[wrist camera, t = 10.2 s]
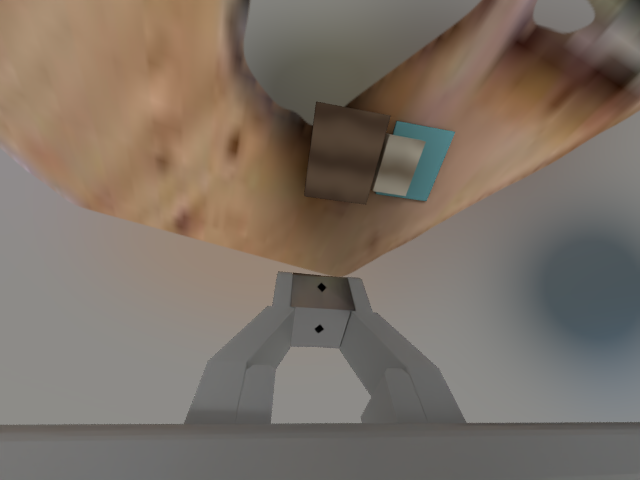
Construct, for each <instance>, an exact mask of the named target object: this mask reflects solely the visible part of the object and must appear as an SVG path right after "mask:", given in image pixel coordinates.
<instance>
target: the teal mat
mask: <svg viewBox="0 0 640 480" xmlns="http://www.w3.org/2000/svg"><path fill="white" fill-rule="evenodd" d="M454 134H455V132H453V131H447V130H442V129H437V128H431V127H426V126H421V125H415V124H410V123H405V122H399V121H396V124H395V128H394V131H393V135H397V136H402V137H407V138H412V139H418V140H422V141H425V142H426V143H425V146H424V148H423V151H422V154H421V156H420V159H419V162H418V164H417V167H416V170H415V172H414V175H413V178H412V180H411V183H410V186H409V188H408V191H407V194H406V196H401V195H395V194H388V193H382V192H376V194H379V195H387V196H394V197H401V198H408V199H415V200H422V201H427V198H428V196H429V194H430V191H431V189H432V186H433V184H434V182H435V179H436V177H437V174H438V172H439V170H440V167H441V165H442V162H443V160H444V158H445V155H446V153H447V150H448V148H449V146H450V143H451V141H452V138H453V136H454Z"/></svg>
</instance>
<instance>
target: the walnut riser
mask: <svg viewBox="0 0 640 480" xmlns="http://www.w3.org/2000/svg"><path fill="white" fill-rule="evenodd" d="M389 120H390V116H389V115H384V114H379V113H374V112H368V111H363V110H358V109H352V108H347V107H342V106H337V105H331V104H326V103H321V102H316V107H315V115H314V122H313V130H312V137H311V145H310V153H309V161H308V168H307V176H306V184H305V191H304V196H306V197H314V198H321V199H329V200H336V201H344V202H351V203H359V204H366V203H367V199H368V196H369V192H370V188H371V185H372V181H373V178H374V174H375V170H376V167H377V163H378V160H379V156H380V152H381V149H382V145H383V142H384V138H385V134H386V131H387V127H388V124H389Z"/></svg>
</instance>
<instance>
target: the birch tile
mask: <svg viewBox="0 0 640 480" xmlns="http://www.w3.org/2000/svg"><path fill="white" fill-rule="evenodd" d="M425 143H426V142H425V141H422V140H418V139H412V138H407V137H402V136H397V135H391V134H386V135H385V138H384V142H383V145H382V149H381V152H380V156H379V160H378V163H377V167H376V170H375V174H374V178H373V181H372V185H371V189H372V190H373V191H375V192H382V193H388V194H395V195H401V196H406V194H407V191H408V188H409V186H410V183H411V180H412V178H413V175H414V172H415V170H416V167H417V164H418V162H419V159H420V156H421V154H422V151H423V148H424V146H425Z"/></svg>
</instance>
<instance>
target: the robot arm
mask: <svg viewBox="0 0 640 480" xmlns="http://www.w3.org/2000/svg"><path fill="white" fill-rule="evenodd" d="M290 346H294V347H295V346H297V347H303V346H304V347H327V348H340V351H341V352H342V354H343V355H344V357H345V358H346V360H347V361H348V363H349V364H350V366H351V367H352V369H353V370H354V372H355V373H356V375H357V376H358V378H359V379H360V381H361V382H362V383H363V385H364V386H365V388H366V389H367V391H368V392H369V394H370V395H371V399H370V401H369V403H368V404H367V406H366V408H365V410H364V412H363V414H362V416H361V421H362V423H324V424H323V423H316V424H315V423H312V424H309V423H306V424H305V423H302V424H271V413H272V404H273V393H274V383H275V372H276V368H277V367H278V365H279V364H280V362H281V361H282V359H283V358H284V356H285V355H286V353H287V352H288V350H289V349H290ZM0 480H640V422H591V423H590V422H580V423H579V422H577V423H575V422H574V423H466V421H465V419H464V417H463V415H462V413H461V411H460V409H459V407H458V405H457V403H456V401H455V399H454V397H453V395H452V393H451V391H450V389H449V387H448V386H447V383H446V381H445V379H444V377H443V375H442V373H441V372H440V370H439V368H437V366H436V365H434V364H433V363H432V362H431V361H430V360H429V359H428V358H427V357H426V356H424V355H423V354H422V353H421V352H420V351H419V350H418V349H417V348H416V347H414V346H413V345H412V344H411V343H410V342H409V341H408V340H406V338H404V337H403V336H402V335H401V334H400V333H399V332H398V331H396V330H395V329H394V328H393V327H392V326H391V325H390V324H389V323H388V322H387V321H386V320H384V319H383V318H382V317H381V316H380V315H379V314H378V313H373V312H372V309H371V306H370V303H369V300H368V297H367V294H366V291H365V288H364V285H363V282H362V280H361V279H360V278H351V277H333V276H320V275H310V274H301V273H293V274H292V273H290V272H278V274H277V279H276V285H275V291H274V298H273V305H272V306H267V307H266V308H265V309H264V310H263V311H262V312H261V313H259V314H258V315H257V316H256V317H255V318H254V319H253V320H252V321H251V322H250V323H249V324H248V325H247V326H245V327H244V328H243V329H242V330H241V331H240V332H239V333H238V334H237V335H236V336H235V337H233V339H231V340H230V341H229V342H228V343H227V344H226V345H225V346H224V347H223V348H222V349H220V350H219V351H218V352H217V353H216V354H215V355H214V356H213V357H212V358H211V359H210V360H209V361H208V362H207V365H206V367H205V370H204V372H203V375H202V378H201V380H200V383H199V386H198V388H197V391H196V393H195V396H194V399H193V401H192V404H191V407H190V409H189V412H188V414H187V417H186V420H185V422H184V424H79V425H78V424H73V425H72V424H71V425H70V424H69V425H67V424H64V425H0Z"/></svg>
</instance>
